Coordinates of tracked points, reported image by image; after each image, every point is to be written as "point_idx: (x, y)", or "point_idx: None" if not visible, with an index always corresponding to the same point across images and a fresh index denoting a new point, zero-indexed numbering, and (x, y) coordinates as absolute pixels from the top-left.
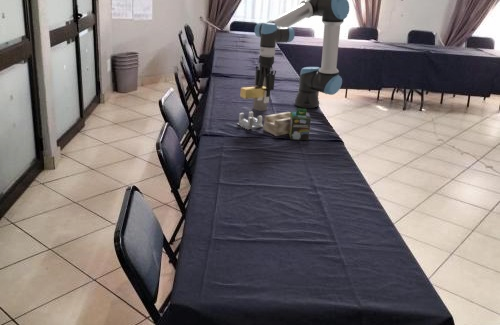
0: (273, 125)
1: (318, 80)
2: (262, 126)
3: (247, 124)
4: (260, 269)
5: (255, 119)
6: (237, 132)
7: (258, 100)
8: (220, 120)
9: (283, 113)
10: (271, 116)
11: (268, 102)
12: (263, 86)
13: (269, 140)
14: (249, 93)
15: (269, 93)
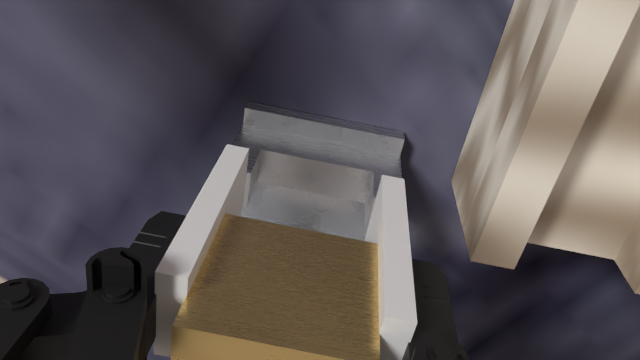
0: (599, 251)
1: None
2: (402, 142)
3: None
4: None
5: (331, 189)
6: None
7: (241, 213)
8: (90, 254)
9: (603, 22)
10: (534, 220)
11: (403, 185)
12: (217, 346)
13: (616, 307)
14: None
15: (448, 322)
